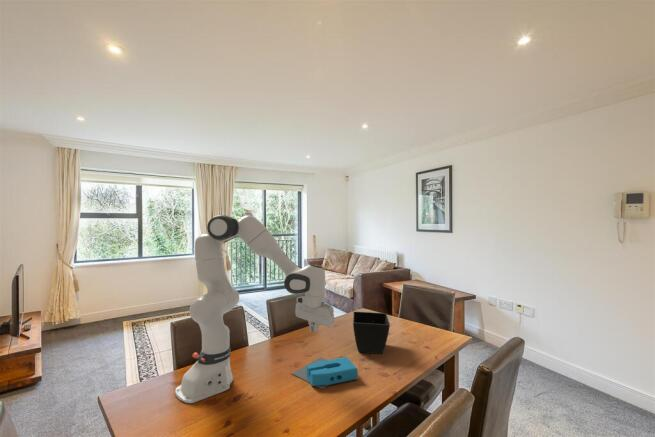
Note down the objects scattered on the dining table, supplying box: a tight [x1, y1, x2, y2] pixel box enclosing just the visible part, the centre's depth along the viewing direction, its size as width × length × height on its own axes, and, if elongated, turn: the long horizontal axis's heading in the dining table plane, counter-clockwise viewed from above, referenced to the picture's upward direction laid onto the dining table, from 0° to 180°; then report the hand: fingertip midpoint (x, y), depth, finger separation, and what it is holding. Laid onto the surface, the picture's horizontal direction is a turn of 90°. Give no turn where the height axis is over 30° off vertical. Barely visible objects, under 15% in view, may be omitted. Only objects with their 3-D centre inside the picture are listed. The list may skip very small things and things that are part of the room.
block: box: [307, 356, 358, 387], centre depth 126 cm, size 12×5×20 cm
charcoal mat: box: [291, 356, 329, 390], centre depth 131 cm, size 20×18×1 cm
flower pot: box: [352, 311, 391, 355], centre depth 157 cm, size 19×19×17 cm
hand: (313, 331), depth 128 cm, fingers closed
